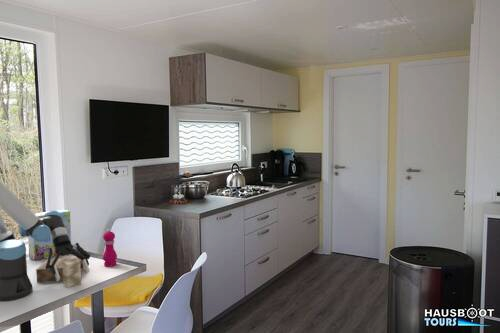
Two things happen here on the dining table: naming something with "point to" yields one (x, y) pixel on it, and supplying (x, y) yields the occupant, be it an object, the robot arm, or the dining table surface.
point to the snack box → (41, 248)
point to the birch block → (71, 273)
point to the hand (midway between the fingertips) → (73, 275)
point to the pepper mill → (109, 249)
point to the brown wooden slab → (46, 274)
